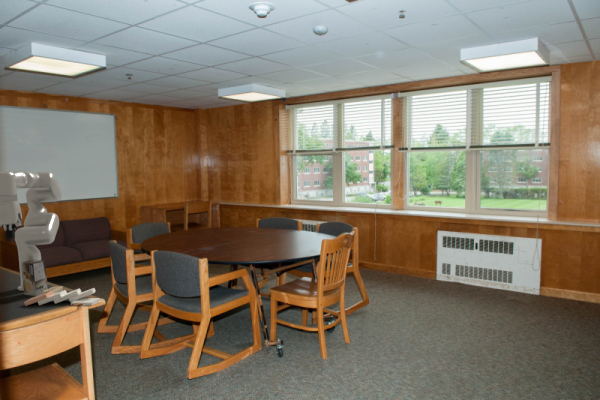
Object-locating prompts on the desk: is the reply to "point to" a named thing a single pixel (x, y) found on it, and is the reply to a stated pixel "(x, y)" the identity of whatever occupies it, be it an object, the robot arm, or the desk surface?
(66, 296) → the domino
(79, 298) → the domino
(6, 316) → the desk surface
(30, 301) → the domino
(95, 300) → the domino
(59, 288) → the stand
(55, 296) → the domino
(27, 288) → the coffee box
